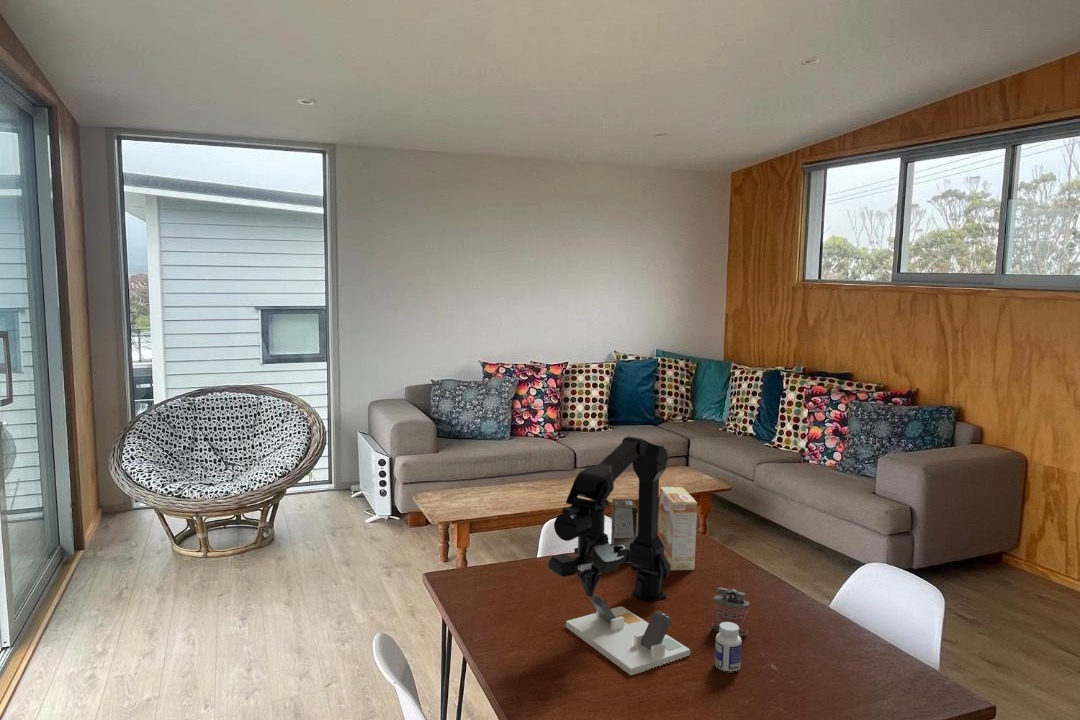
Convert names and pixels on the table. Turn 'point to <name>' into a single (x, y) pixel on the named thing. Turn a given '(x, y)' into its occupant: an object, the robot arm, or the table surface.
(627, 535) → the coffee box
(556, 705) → the table surface
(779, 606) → the table surface
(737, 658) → the pill bottle
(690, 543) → the coffeecake box
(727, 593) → the lighter
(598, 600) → the breaker lever
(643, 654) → the breaker panel
